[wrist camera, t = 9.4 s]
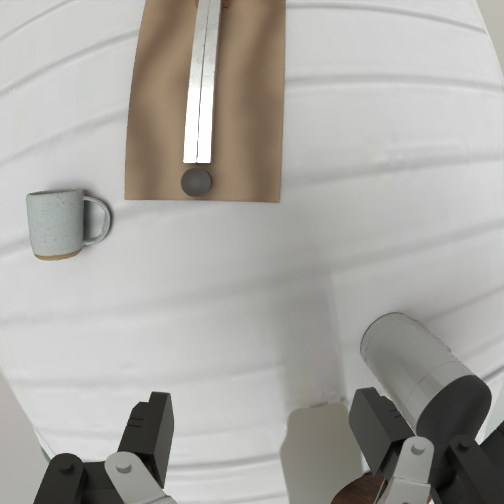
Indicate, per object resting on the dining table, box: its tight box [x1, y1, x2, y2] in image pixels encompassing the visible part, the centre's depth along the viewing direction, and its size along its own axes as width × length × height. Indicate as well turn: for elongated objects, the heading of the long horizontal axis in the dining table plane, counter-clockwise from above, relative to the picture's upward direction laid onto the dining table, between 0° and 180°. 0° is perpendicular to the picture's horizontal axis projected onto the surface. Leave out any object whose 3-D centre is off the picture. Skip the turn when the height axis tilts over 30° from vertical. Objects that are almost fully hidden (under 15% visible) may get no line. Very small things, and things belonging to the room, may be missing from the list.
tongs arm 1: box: [198, 0, 229, 165], centre depth 29 cm, size 24×2×4 cm, turn 178°
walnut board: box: [125, 0, 285, 203], centre depth 29 cm, size 18×32×6 cm, turn 178°
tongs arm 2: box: [184, 0, 210, 165], centre depth 29 cm, size 24×2×4 cm, turn 177°
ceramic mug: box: [26, 189, 110, 260], centre depth 31 cm, size 10×8×7 cm
